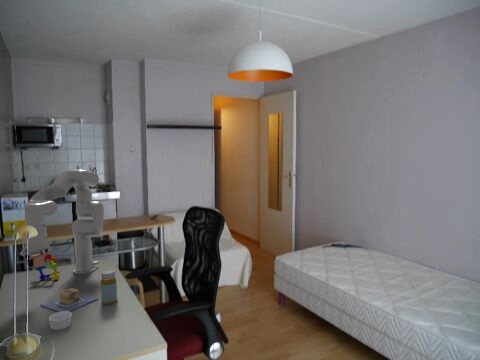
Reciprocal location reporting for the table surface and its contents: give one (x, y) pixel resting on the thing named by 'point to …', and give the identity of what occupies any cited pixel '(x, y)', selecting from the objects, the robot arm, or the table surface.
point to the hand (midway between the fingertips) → (36, 264)
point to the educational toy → (53, 266)
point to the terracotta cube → (38, 260)
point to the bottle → (108, 287)
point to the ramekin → (60, 320)
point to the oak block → (69, 296)
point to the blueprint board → (59, 306)
